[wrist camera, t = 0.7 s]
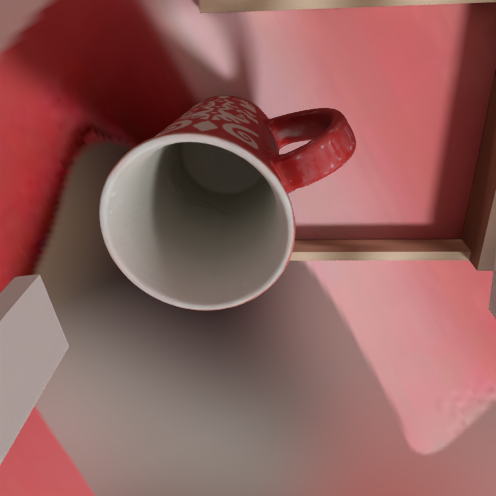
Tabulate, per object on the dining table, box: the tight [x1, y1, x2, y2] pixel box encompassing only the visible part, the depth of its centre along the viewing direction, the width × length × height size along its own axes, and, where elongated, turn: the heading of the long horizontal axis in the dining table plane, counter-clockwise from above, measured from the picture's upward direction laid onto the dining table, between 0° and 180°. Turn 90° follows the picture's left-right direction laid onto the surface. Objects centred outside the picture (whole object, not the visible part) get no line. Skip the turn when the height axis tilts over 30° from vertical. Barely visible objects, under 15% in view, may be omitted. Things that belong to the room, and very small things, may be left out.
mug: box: [99, 96, 356, 310], centre depth 26 cm, size 13×9×14 cm
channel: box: [199, 0, 496, 271], centre depth 30 cm, size 21×17×4 cm
